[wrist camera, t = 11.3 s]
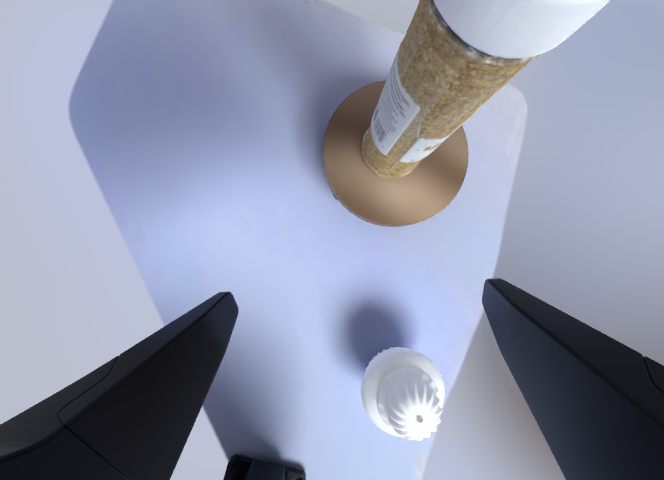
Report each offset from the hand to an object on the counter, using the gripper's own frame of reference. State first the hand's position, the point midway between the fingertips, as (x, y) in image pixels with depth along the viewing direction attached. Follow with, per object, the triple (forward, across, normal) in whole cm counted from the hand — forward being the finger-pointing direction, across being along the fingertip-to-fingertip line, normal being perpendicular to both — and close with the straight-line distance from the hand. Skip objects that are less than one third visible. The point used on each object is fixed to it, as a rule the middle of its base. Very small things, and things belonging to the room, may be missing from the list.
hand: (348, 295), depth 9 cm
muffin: (+8, -1, +15) cm, 17 cm away
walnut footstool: (+16, -2, 0) cm, 17 cm away
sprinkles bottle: (+13, -3, -2) cm, 14 cm away
